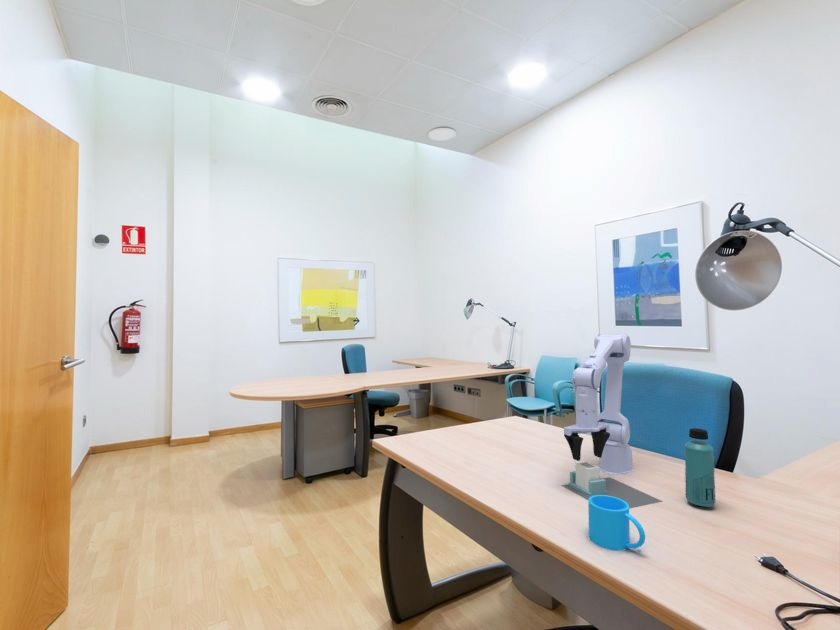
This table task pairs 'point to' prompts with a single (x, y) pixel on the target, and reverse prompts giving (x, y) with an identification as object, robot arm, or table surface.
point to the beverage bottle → (699, 470)
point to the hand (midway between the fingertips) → (587, 458)
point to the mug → (611, 523)
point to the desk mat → (622, 493)
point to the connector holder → (594, 486)
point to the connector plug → (586, 474)
